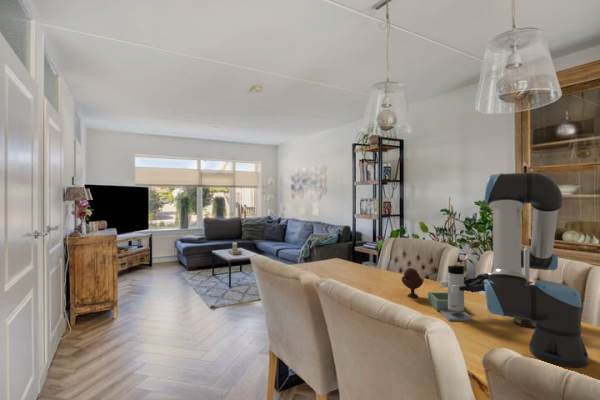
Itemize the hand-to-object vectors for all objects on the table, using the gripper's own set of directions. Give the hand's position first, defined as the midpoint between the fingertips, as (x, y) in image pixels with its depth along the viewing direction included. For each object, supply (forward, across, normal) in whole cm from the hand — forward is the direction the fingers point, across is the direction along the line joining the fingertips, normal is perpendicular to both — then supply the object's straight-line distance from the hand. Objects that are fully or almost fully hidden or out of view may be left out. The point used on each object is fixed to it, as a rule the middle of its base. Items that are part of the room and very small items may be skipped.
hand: (446, 286), depth 139 cm
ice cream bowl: (-4, +29, -14) cm, 32 cm away
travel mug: (-5, 0, -11) cm, 12 cm away
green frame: (-9, +11, -14) cm, 20 cm away
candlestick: (-26, -15, -14) cm, 33 cm away
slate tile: (-5, 0, -14) cm, 14 cm away
